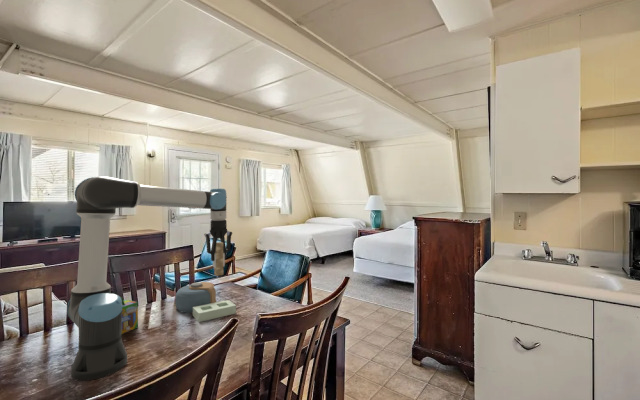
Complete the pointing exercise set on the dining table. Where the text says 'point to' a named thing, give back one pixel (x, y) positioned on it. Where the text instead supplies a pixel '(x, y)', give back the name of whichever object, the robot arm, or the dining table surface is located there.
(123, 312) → the chalk box
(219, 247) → the peg
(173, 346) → the dining table surface
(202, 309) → the socket block
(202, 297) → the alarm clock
